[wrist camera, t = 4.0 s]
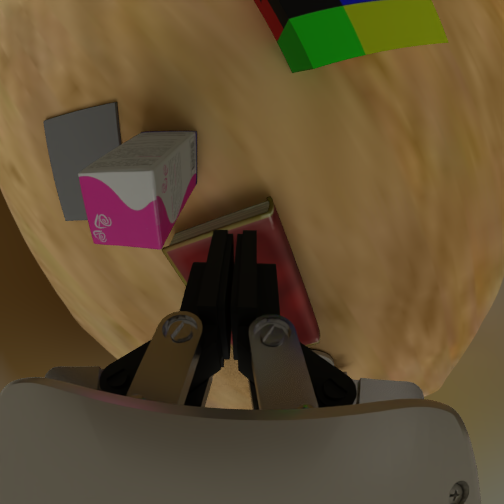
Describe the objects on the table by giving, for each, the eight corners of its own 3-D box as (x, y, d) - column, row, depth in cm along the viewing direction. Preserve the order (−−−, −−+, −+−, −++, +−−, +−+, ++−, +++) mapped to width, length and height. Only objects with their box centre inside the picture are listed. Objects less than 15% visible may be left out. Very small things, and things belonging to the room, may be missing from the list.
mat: (117, 101, 22) (114, 102, 21) (133, 216, 29) (132, 218, 29) (46, 120, 22) (43, 121, 21) (67, 218, 29) (65, 220, 29)
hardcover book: (271, 194, 28) (274, 212, 25) (317, 321, 39) (321, 344, 36) (171, 230, 31) (161, 251, 27) (242, 339, 42) (240, 361, 39)
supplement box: (139, 131, 24) (75, 170, 14) (197, 130, 24) (158, 167, 14) (143, 184, 27) (91, 246, 18) (197, 186, 27) (166, 252, 18)
